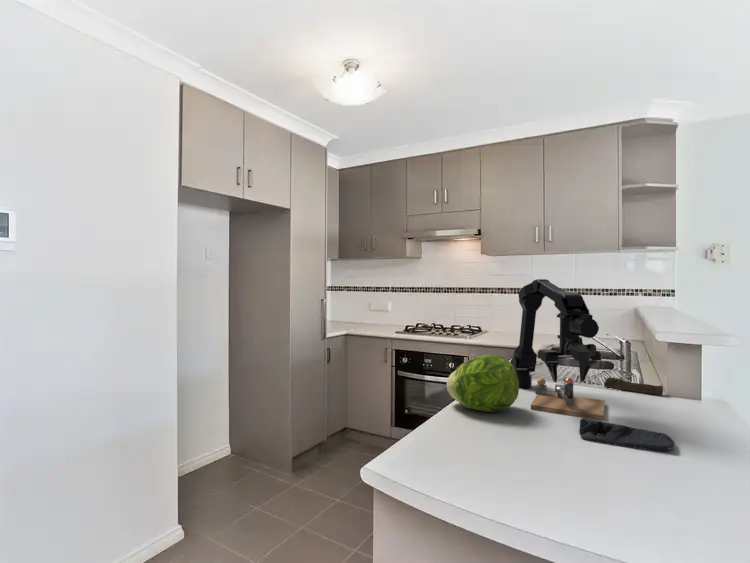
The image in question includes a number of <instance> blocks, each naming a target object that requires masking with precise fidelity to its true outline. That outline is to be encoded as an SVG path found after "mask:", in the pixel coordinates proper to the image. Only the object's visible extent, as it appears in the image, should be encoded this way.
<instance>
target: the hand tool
mask: <svg viewBox="0 0 750 563" xmlns="http://www.w3.org/2000/svg"><path fill="white" fill-rule="evenodd" d="M605 387H607V388H606V389H608V388H613V389H617V390H616V391H619V390H622V391H629V392H636V393H642V394H647V395H652V396H659V397H663V394H664V387H663V385H652V384H648V383H638V382H631V381H626V380H625V381H624V380H623V378H615V377H607V378H606V379H605V381H604V387H603V388H605ZM613 389H612V390H613Z"/></svg>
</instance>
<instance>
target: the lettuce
mask: <svg viewBox="0 0 750 563" xmlns="http://www.w3.org/2000/svg"><path fill="white" fill-rule="evenodd" d="M519 389H520V388H519V380H518V376H517V373H516V370H515V368H514V366H513V365H512V364H511V363H510V361H509V360H508V359H506V358H505V357H504V356H501V355H499V354H493V353H490V354H489V353H487V354H484V355H479V356H475V357H473V358H471V359H468V360H467V361H465V362H463V363H461V364H460V365H459V366H458V367H457V368H456V369H455V370H454V371H452V372H451V373H450V375H449V376H448V378H447V379H446V390H447V393H448V394H449V395H450V396H451V398H452V399H453V400H455V401H456V402H457V403H459V404H460V405H461V406H464V407H465V408H468V409H470V410H473V411H476V412H477V411H478V412H484V413H497V412H500V411H502V410H504V409H507V408H508V407H511V406H512V405H513V404H514V403H515V401H516V400H517V399H518V396H519V391H520V390H519Z"/></svg>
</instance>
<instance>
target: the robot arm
mask: <svg viewBox="0 0 750 563" xmlns="http://www.w3.org/2000/svg"><path fill="white" fill-rule="evenodd" d="M546 297H547V298H548V299H550V300H551V301H553V303H554V307H555V308H556V309H557V310H558V311H559V313H558V314H556V318H558V319H559V334H558V335H557V339H559V347H557V349H556V350H557V351H556V350H552V349H550V348H549V349H548V348H547V349H542V348H541V349H539V350H538V351H537V353H536V352H535V350H534V348H533V344H534V336H535V327H536V326H535V324H536V316H537V311H538V310H539V308H540V307H541V306H542V303H543V300H544V299H545V298H546ZM518 303H519V305H520V307H521V309H522V312H521V313H522V314H521V322H520V323H521V324H520V334H519V342H518V344H519V345H518V346H517V347H516V348H515V350H514V351H513V356H512V357H511V359H510V361H509V362H510V363H511V364H512V365H513V366H514V368H515V370H516V373H517V376H518V380H519V389H527V390H528V389H530V388H531V387H532V385H533V375H532V374H531V372H532V373H535V371H536V366H537V359H539V360H541V361H542V362H544V364H545V365H546V368H547V369H548V372H549V373H550V376H551V379H552V381H553V382H554V383H557V381H558V365H559V363H560V362H559V361H558V360H559V359H572V358H573V360H575V361H577V362H578V366H579V369H578V370H579V378H580V382H583V383H584V382H585V380H586V377H587V375H588V373H589V371H590V368H591V367H592V366H594V364H597V363H598V361H602V360H603V359H602V353H601V352H600V350H597V345H596V344H594V343H588V344H584V342H583V337H584V338H588V339H591V338H594V337H595V336H597V335H598V332H599V329H600V327H599V323H598V322H597V321H596V320H595V319H593V315H592V314H591V313H590V310H589V308H588V306H587V304H586V302H585V299H584V298H583V296H582V295H581V294H580V293H577V292H572V291H567V290H564V289H563V288H561V287H559V286H557V285H555V284H554V283H552V282H551V281H550V280H548V279H546V278H545V279H543V278H539V279H538V278H537V279H534V280H533V281H532V282H531V283H528V284H526V285H524V286H523V287H522V288H520V289H519V291H518Z"/></svg>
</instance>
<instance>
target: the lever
mask: <svg viewBox="0 0 750 563" xmlns="http://www.w3.org/2000/svg"><path fill="white" fill-rule="evenodd" d="M554 391H555V393H557V392H558V393H560V395H561V396H562V398H563V400H564V401H565V402H574V398H573V396H574V380H573V379H572V378H570V377H567V378H565V379H564V384H554Z"/></svg>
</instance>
